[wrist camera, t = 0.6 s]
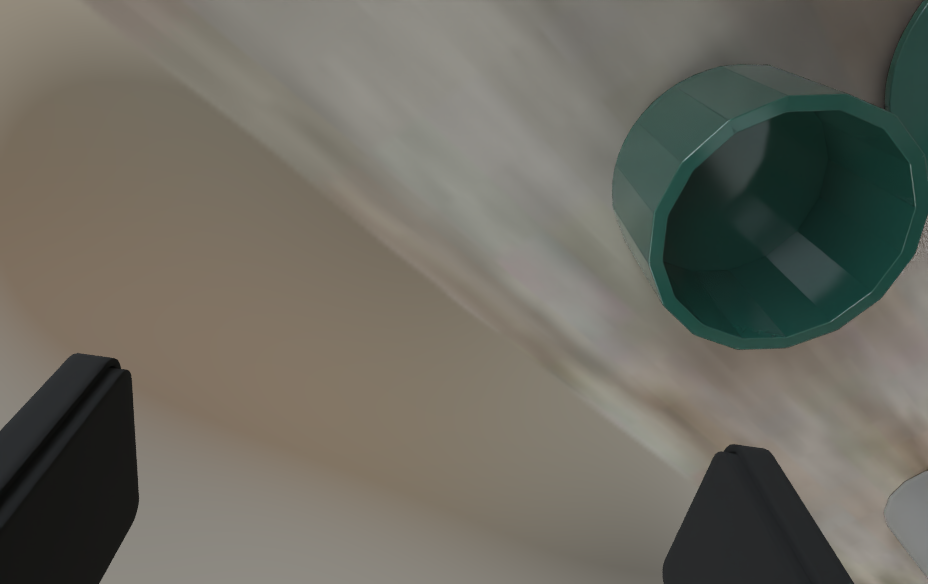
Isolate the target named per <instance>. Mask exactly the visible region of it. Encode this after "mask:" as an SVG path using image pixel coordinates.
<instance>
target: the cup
mask: <svg viewBox="0 0 928 584" xmlns="http://www.w3.org/2000/svg"><path fill="white" fill-rule="evenodd" d="M884 515H885V519H886V522H887V526H888V527H889V528H890V530H891V531H892V532H893V534H894V535H895V536H896V538H897V539H898V540H899V542H900V543H901V544H902V546H903V547H904V548H905V549H906V551H907V552H908V553H909V555H910V556H911V557H912V559H913V560H914V561H915V563H916V564H917V565H918V567H919V568H920V569H921V571H922V572H923V573H924V575H925V576H926V577H927V579H928V471H925V472H923V473H921V474H919V475H917V476H915V477H913V478H911V479H909V480H907V481H905V482H904V483H903V484H902V485H901V486H900V487H899V488H898V489H897V490H896V491H895V492H894V493H893V494H892V495H891V496H890V497H889V500H888V502H887V505H886V507H885V510H884Z"/></svg>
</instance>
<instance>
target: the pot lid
mask: <svg viewBox="0 0 928 584" xmlns="http://www.w3.org/2000/svg"><path fill="white" fill-rule="evenodd" d="M885 110H886V111H889V112H891V113H893V114H895V115H896V116H897V117H898V118H899V120H900V121H901V122H902V124H903V125H904V126H905V128H906V129H907V130H908V132H909V133H910V135H911V136H912V137H913V139H914V140H915V141H916V143H917V144H918V146H919V147H920V148H921V150H922V151H923V152H924V154H925V158H926V166H927V175H928V0H924V1H923V2H922V3H921V5H920V6H919V8H918V9H917V10H916V12H915V13H914V15H913V16H912V18H911V20H910V21H909V23H908V25H907V27H906V28H905V30H904V32H903V34H902V36H901V38H900V40H899V43H898V45H897V47H896V49H895V52H894V55H893V58H892V61H891V64H890V67H889V72H888V77H887V82H886V89H885Z"/></svg>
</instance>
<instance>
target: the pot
mask: <svg viewBox="0 0 928 584" xmlns="http://www.w3.org/2000/svg"><path fill="white" fill-rule="evenodd" d="M612 199H613V209H614V212H615V215H616V219H617V222H618V225H619V227H620V229H621V232H622V234H623V237H624V240H625V242H626V244H627V246H628V247H629V249H630V251H631V252H632V254H633V256H634V257H635V259H636V261H637V263H638V264H639V266H640V268H641V269H642V271H643V273H644V274H645V276H646V278H647V279H648V281H649V283H650V284H651V286H652V288H653V290H654V291H655V293H656V295H657V296H658V298H659V300H660V301H661V303H662V305H663V306H664V307H665V308H666V309H667V310H668V311H669V312H670V313H671V314H672V315H673V316H674V317H675V318H676V319H678V320H679V321H680V322H681V323H682V324H683V325H684V326H685V327H686V328H687V329H688V330H689V331H690V332H691V333H692V334H694V335H696V336H699V337H702V338H704V339H707V340H710V341H713V342H716V343H719V344H722V345H725V346H728V347H731V348H734V349H738V350H745V349H776V348H788V347H791V346H794V345H797V344H799V343H802V342H805V341H808V340H811V339H814V338H816V337H819V336H822V335H825V334H828V333H831V332H833V331H836V330H838V329H840V328H841V327H842V326H844V325H845V324H846V323H848V322H849V321H851V320H852V319H853V318H855V317H856V316H858V315H859V314H860V313H862V312H863V311H865V310H866V309H867V308H869V307H870V306H872V305H873V304H874V303H876V302H877V301H878V300H880V299H881V298H882V297H883V295H884V294H885V293H886V292H887V290H888V289H889V288H890V286H891V285H892V284H893V282H894V281H895V280H896V279H897V277H898V276H899V275H900V273H901V272H902V271H903V269H904V268H905V267H906V265H907V264H908V263H909V262H910V260H911V259H912V258H913V256H914V254H915V253H916V250H917V246H918V243H919V240H920V237H921V234H922V231H923V228H924V225H925V222H926V219H927V216H928V175H927V166H926V158H925V154H924V152H923V151H922V150H921V148H920V147H919V146H918V144H917V143H916V141H915V140H914V139H913V137H912V136H911V135H910V133H909V132H908V130H907V129H906V128H905V126H904V125H903V124H902V122H901V121H900V120H899V118H898V117H897V116H896V115H895V114H893V113H891V112H889V111H886V110H884V109H882V108H879V107H877V106H875V105H873V104H870V103H868V102H866V101H864V100H861V99H859V98H857V97H854V96H852V95H850V94H847V93H845V92H842V91H839V90H836V89H834V88H831V87H828V86H826V85H823V84H820V83H817V82H815V81H812V80H809V79H806V78H804V77H801V76H798V75H795V74H793V73H790V72H787V71H784V70H782V69H779V68H776V67H773V66H771V65H753V64H737V65H726V66H720V67H717V68H713V69H709V70H706V71H704V72H701V73H698V74H695V75H693V76H691V77H689V78H687V79H685V80H683V81H681V82H679V83H678V84H676V85H675V86H673V87H672V88H670V89H669V90H667V91H666V92H665V93H663V94H662V95H661V96H660V97H659V98H658V99H656V100H655V101H654V102H653V103H652V104H651V105H650V106H649V107H648V108H647V109H646V110H645V111H644V113H643V114H642V115H641V116H640V117H639V119H638V120H637V121H636V123H635V124H634V125H633V127H632V128H631V130H630V132H629V134H628V135H627V137H626V139H625V141H624V143H623V145H622V148H621V150H620V152H619V155H618V158H617V162H616V165H615V169H614V176H613V182H612Z"/></svg>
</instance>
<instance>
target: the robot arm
mask: <svg viewBox="0 0 928 584" xmlns="http://www.w3.org/2000/svg"><path fill="white" fill-rule="evenodd" d="M135 444H136V443H135V426H134V410H133V393H132V378H131V373H130V372H129V371H128V370H124V369H121V367H120V363H119V362H118V360H117V359H115V358H109V357H102V356H94V355H87V354H80V353H77V354H73V355H72V356H70V357H69V358H68V359H67V360H66V361H65V362H64V363H63V364H62V365H61V366H60V368H59V369H58V370H57V371H56V372H55V373H54V374H53V375H52V376H51V377H50V378H49V379H48V380H47V381H46V382H45V384H44V385H43V386H42V387H41V388H40V389H39V390H38V391H37V392H36V393H35V394H34V396H32V397H31V399H30V400H29V401H28V402H27V403H26V404H25V405H24V406H23V407H22V408H21V409H20V410H19V411H18V412H17V414H16V415H15V416H14V417H13V418H12V419H11V420H10V421H9V422H8V423H7V424H6V425H5V426H4V427H3V429H2V430H1V431H0V584H99V583H100V581H101V579H102V577H103V575H104V574H105V572H106V570H107V568H108V566H109V565H110V563H111V561H112V559H113V558H114V556H115V554H116V552H117V550H118V548H119V547H120V545H121V543H122V541H123V540H124V538H125V536H126V534H127V532H128V531H129V529H130V527H131V525H132V523H133V521H134V519H135V516H136V512H137V508H138V503H139V493H138V476H137V459H136V445H135ZM663 582H664V584H854V583H853V581H852V579H851V578H850V576H849V575H848V573H847V571H846V570H845V568H844V567H843V565H842V564H841V562H840V560H839V559H838V557H837V556H836V554H835V553H834V551H833V549H832V548H831V546H830V545H829V543H828V541H827V540H826V538H825V537H824V535H823V534H822V532H821V530H820V529H819V527H818V526H817V524H816V523H815V521H814V519H813V518H812V516H811V515H810V513H809V511H808V510H807V508H806V507H805V505H804V504H803V502H802V500H801V499H800V497H799V496H798V494H797V493H796V491H795V489H794V488H793V486H792V485H791V483H790V481H789V480H788V478H787V477H786V475H785V474H784V472H783V470H782V469H781V467H780V466H779V464H778V463H777V461H776V459H775V458H774V456H773V455H772V454H771V452H770V451H769V450H766V449H764V448H757V447H749V446H742V445H735V444H733V445H729V446H728V447H727V448H726V449H725V450H724V452H718V453H716V454H715V456H714V457H713V459H712V461H711V464H710V466H709V468H708V470H707V472H706V474H705V476H704V478H703V480H702V483H701V485H700V487H699V489H698V491H697V493H696V495H695V497H694V499H693V502H692V504H691V506H690V508H689V511H688V512H687V514H686V517H685V518H684V521H683V523H682V525H681V527H680V529H679V531H678V533H677V535H676V538H675V540H674V542H673V544H672V546H671V548H670V550H669V552H668V554H667V557H666V559H665V561H664V565H663Z"/></svg>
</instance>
